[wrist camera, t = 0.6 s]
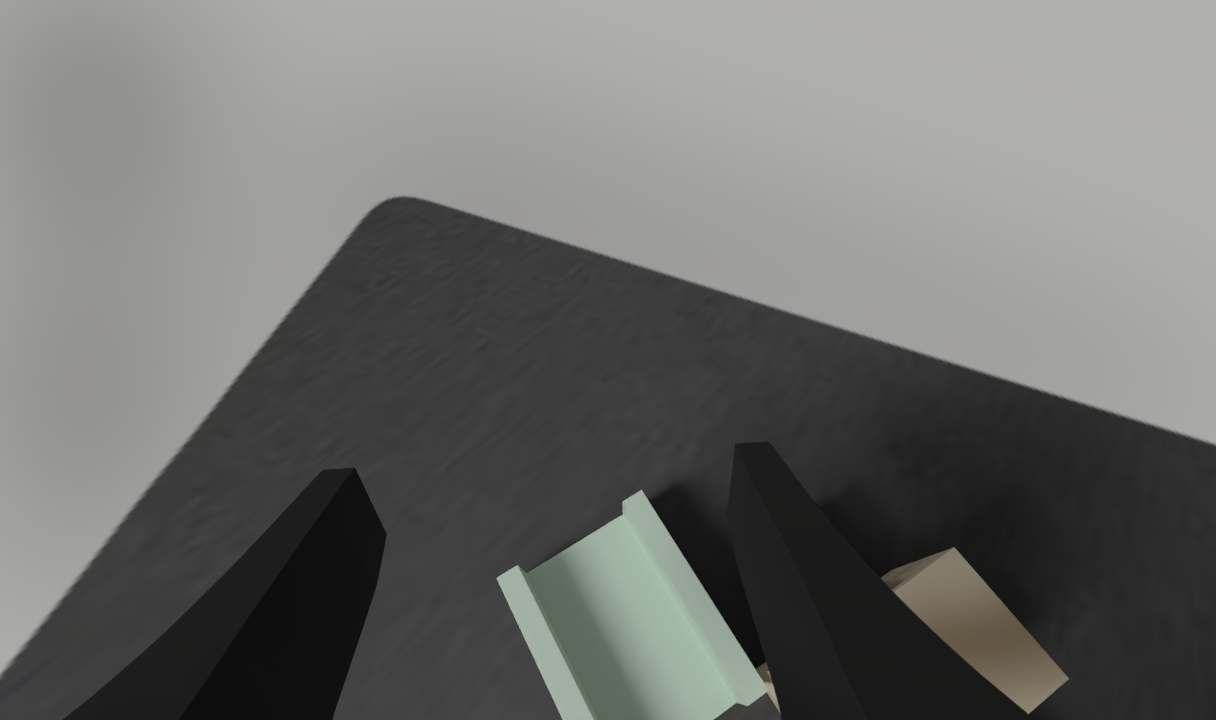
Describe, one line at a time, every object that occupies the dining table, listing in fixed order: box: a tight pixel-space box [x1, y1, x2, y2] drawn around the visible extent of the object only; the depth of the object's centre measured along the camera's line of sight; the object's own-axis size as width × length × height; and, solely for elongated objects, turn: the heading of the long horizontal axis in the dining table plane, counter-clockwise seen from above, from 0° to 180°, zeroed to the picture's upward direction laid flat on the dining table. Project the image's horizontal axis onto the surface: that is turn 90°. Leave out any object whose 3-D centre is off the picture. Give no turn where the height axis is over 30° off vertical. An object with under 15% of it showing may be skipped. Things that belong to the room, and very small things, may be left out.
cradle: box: [497, 490, 769, 720], centre depth 24 cm, size 9×7×3 cm
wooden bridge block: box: [756, 547, 1069, 714], centre depth 22 cm, size 5×8×6 cm, turn 121°
